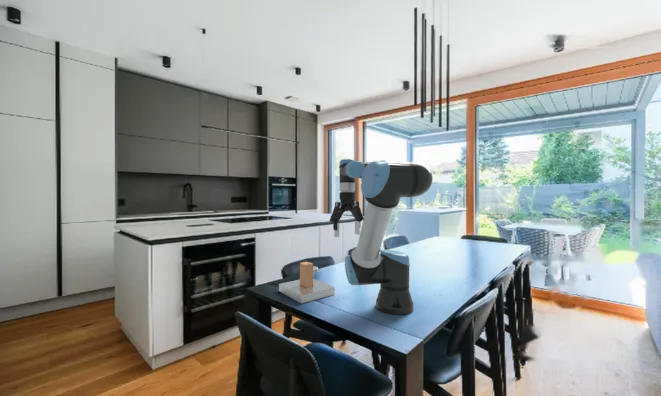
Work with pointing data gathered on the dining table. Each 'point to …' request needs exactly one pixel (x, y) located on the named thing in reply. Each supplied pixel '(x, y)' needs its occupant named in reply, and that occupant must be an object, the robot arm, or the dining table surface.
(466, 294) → the dining table surface
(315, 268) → the showerhead
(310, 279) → the keyed peg
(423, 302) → the dining table surface
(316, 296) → the plate
